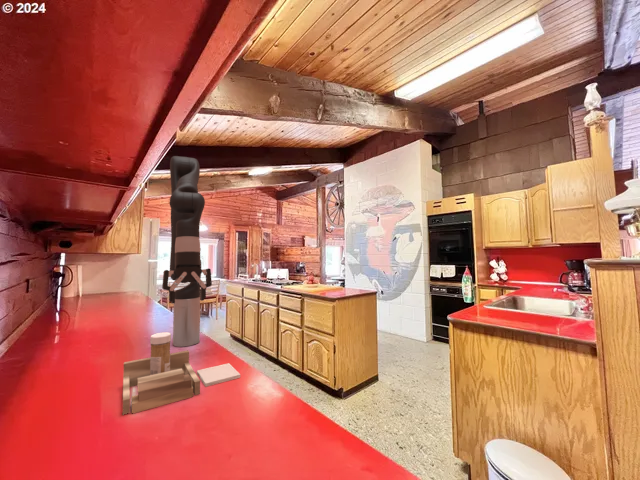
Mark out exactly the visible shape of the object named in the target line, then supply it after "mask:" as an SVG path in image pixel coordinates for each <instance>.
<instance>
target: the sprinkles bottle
mask: <svg viewBox="0 0 640 480" xmlns="http://www.w3.org/2000/svg"><path fill="white" fill-rule="evenodd" d="M149 340H150V341H149V343H150V357H151V358H150V357H149V358H150V375H154V374H159V373H163V372H168V371H170V354H171V341H172V334H171V332H163V331H162V332H157V333H154V334H152V335H150V339H149Z"/></svg>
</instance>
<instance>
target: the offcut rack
mask: <svg viewBox="0 0 640 480" xmlns="http://www.w3.org/2000/svg"><path fill="white" fill-rule="evenodd" d="M150 358H151V356H150V357H147V358H146V357H145V358H140V359H134V360H129V361H124V362H123V374H122V377H123V380H122V416H124V414H126V415H128V414H127V413H129V414H130V410H131V414H132V413H133V414H136V413H140V412H143V411H147V410H151V409H154V408H157V407H162V406H165V405H168V404H172V403H174V402H175V403H176V402H178V401H183V400H186V399H190V398H194V396H197V395H201V379H200V377H199V376H198V374H197V372H196V371H195V370H194V369H193V367H192V365H191V364H190V351H189V350H187V349H186V350H183V351H177V352H172V353H171V352H170V371H168V372H163V373H159V374H154V375H150ZM132 387H137V394H136V395H131V397H130V393H131V391H130V388H132ZM130 405H131V406H130ZM130 407H131V408H130Z"/></svg>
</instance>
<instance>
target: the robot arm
mask: <svg viewBox="0 0 640 480" xmlns="http://www.w3.org/2000/svg"><path fill="white" fill-rule="evenodd" d="M200 167H201V166H200V163H199V160H198V159H197V158H194V157H189V156H188V157H187V156H178V155H173V156H172V157H171V158H170V162H169V175H170V186H171V187H170V189H171V193H170V194H171V195H170V197H169V207H170V230H171V231H170V232H171V233H170V235H171V236H170V239H171V240H170V242H171V244H170V257H169V259H170V260H169V270H168V269H165V270H164V271H163V276H162V290H164V291H168V301H169V302H170V303H171V304H173V315H172V316H173V320H172V322H173V327H172V345H173V346H174V347H177V348H178V347H180V348H182V347H190V346H193V345H196V344H198V343H200V339H201V338H200V335H201V334H200V333H201V301H202V302H203V301H204V300H205V299H206V298H207V288H210V287H212V285H213V283H212V282H213V281H212V270H211V268H204V269H202V260H201V252H202V251H201V250H202V249H201V241H200V240H201V239H200V225H201V223H200V222H201V219H202V214H203V212H204V209H205V204H206V200H205V197H204V195H202V194H201V193H199V188H198V184H199V181H200V173H201V171H200V170H201V169H200ZM202 274H203V275H204V276H205V283H204V281H203V280H202V279H201V277H202ZM169 278H170V279H171V280H172V281H173V282H172V284H171V285H170V286H169ZM180 283H181V284H186V283H188V284H187V285H185V286H184V287H182V288H179V289H176V288H177V287H178V286H179V285H180Z"/></svg>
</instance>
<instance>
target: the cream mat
mask: <svg viewBox="0 0 640 480" xmlns="http://www.w3.org/2000/svg"><path fill="white" fill-rule="evenodd" d="M196 375H197V377H198V378H199V380H200V382H202V383H203V384H202V385H204V387H205V388H207V387H209V386H213V385H217V384H221V383H225V382H230V381H232V380H235V379H240V378H241V373H240V372H239V371H238V370H236V368H235V367H233V365H232V364H231V363H229V362H228V363H224V364H220V365H215V366H210V367H207V368H202V369H198V370H196Z"/></svg>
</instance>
